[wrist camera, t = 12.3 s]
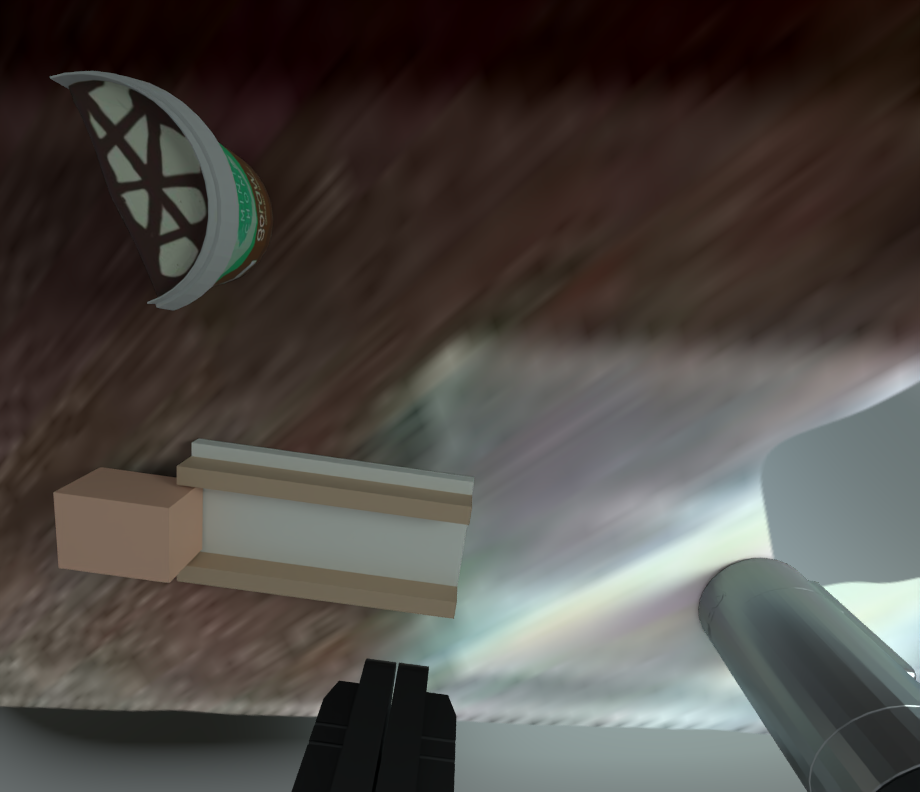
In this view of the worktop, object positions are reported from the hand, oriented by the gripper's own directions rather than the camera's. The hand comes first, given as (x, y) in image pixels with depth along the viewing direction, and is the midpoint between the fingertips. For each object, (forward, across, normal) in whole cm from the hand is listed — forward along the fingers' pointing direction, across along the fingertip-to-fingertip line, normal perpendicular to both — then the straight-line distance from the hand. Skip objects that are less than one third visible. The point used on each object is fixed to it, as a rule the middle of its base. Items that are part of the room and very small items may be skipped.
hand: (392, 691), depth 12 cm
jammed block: (+26, +22, +12) cm, 36 cm away
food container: (+27, +16, -12) cm, 34 cm away
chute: (+27, +8, +12) cm, 31 cm away
